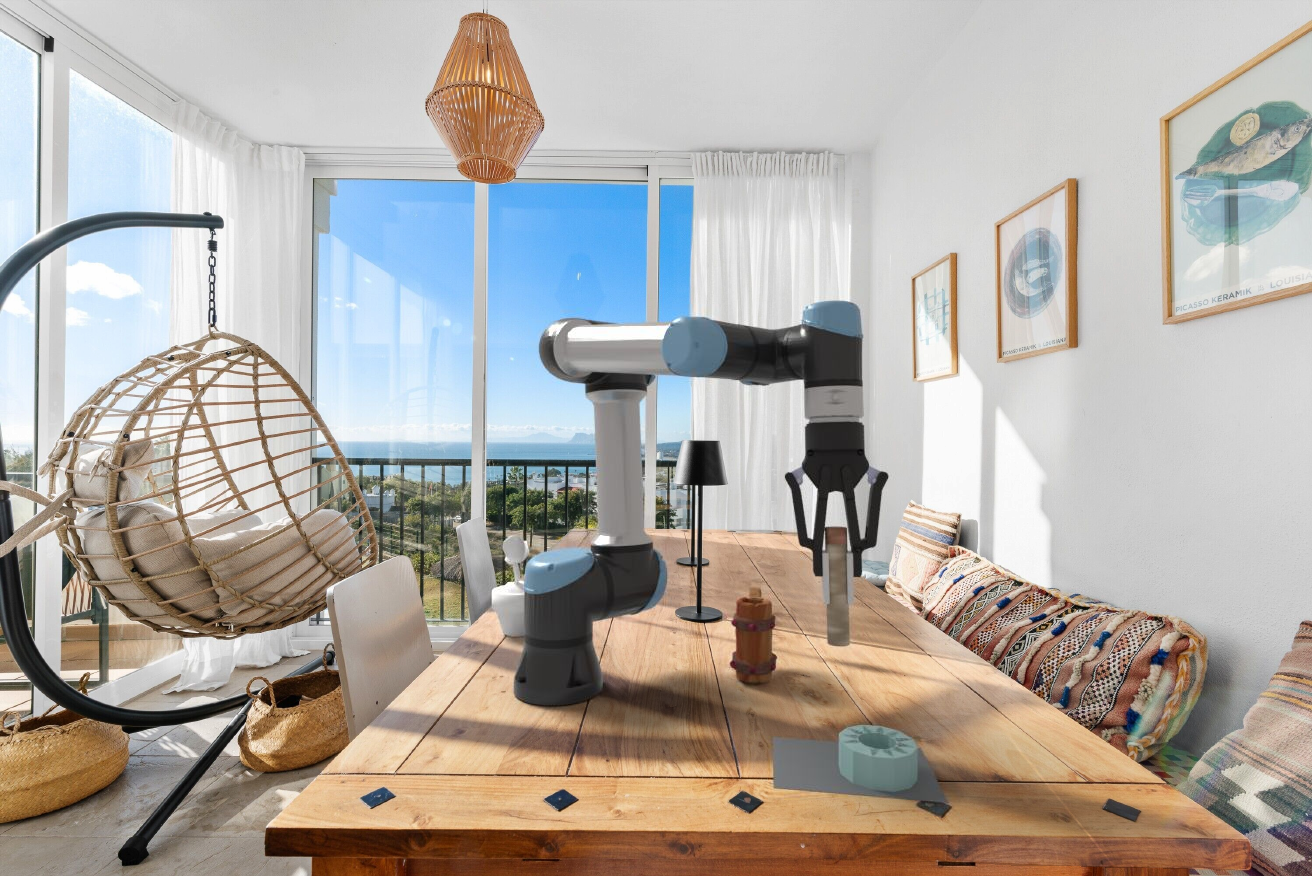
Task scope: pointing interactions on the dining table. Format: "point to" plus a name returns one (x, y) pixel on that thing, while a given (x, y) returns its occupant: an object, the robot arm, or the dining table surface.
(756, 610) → the wooden banded keg
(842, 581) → the dowel
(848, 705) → the dining table surface
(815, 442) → the robot arm
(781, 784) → the mat
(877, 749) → the bead
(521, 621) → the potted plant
